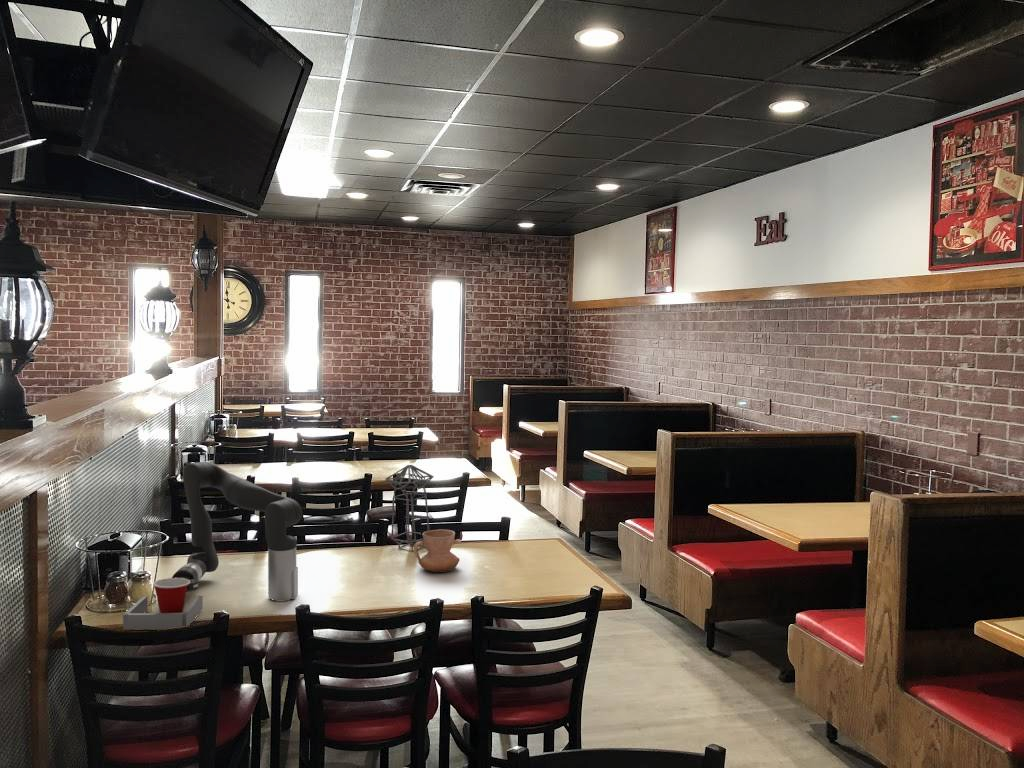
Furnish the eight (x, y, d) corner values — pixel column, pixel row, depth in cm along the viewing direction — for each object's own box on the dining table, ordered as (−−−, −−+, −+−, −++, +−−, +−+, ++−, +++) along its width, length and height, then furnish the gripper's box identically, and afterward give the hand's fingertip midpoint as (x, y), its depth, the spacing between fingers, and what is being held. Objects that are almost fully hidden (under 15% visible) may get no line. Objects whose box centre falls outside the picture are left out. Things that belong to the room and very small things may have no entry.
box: (202, 610, 256) (202, 595, 256) (186, 630, 240) (186, 614, 240) (143, 611, 254) (143, 596, 254) (123, 631, 238) (122, 615, 238)
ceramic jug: (460, 563, 311) (459, 527, 310) (462, 574, 297) (462, 536, 296) (413, 564, 309) (413, 529, 308) (414, 576, 295) (413, 538, 294)
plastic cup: (198, 614, 253) (197, 577, 252) (176, 626, 243) (175, 588, 242) (168, 610, 256) (168, 573, 255) (145, 622, 245) (144, 584, 244)
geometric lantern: (413, 555, 320) (411, 469, 317) (384, 549, 328) (382, 466, 326) (437, 546, 333) (436, 463, 330) (408, 540, 342) (407, 460, 339)
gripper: (167, 566, 269) (147, 582, 252) (207, 566, 270) (190, 582, 253) (167, 587, 269) (147, 605, 252) (207, 587, 270) (190, 605, 253)
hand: (169, 594), depth 252 cm, fingers closed
